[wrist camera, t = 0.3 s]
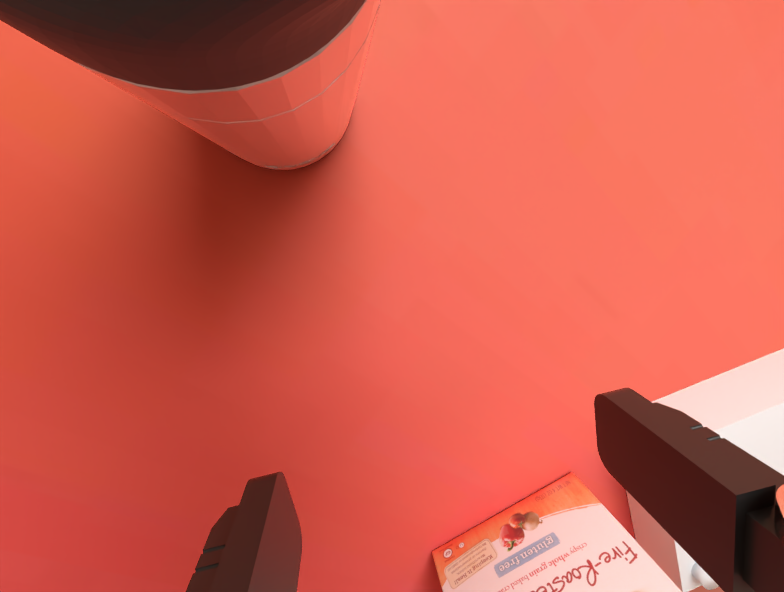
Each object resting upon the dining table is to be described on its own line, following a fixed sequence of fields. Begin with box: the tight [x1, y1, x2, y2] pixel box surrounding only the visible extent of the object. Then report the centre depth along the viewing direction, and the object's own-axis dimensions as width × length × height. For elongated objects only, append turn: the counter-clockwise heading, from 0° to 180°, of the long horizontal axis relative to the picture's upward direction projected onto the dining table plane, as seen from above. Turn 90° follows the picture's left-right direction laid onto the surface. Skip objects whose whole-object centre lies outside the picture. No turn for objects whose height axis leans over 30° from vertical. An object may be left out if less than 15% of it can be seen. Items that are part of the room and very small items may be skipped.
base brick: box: [626, 348, 784, 592], centre depth 33 cm, size 14×18×6 cm
